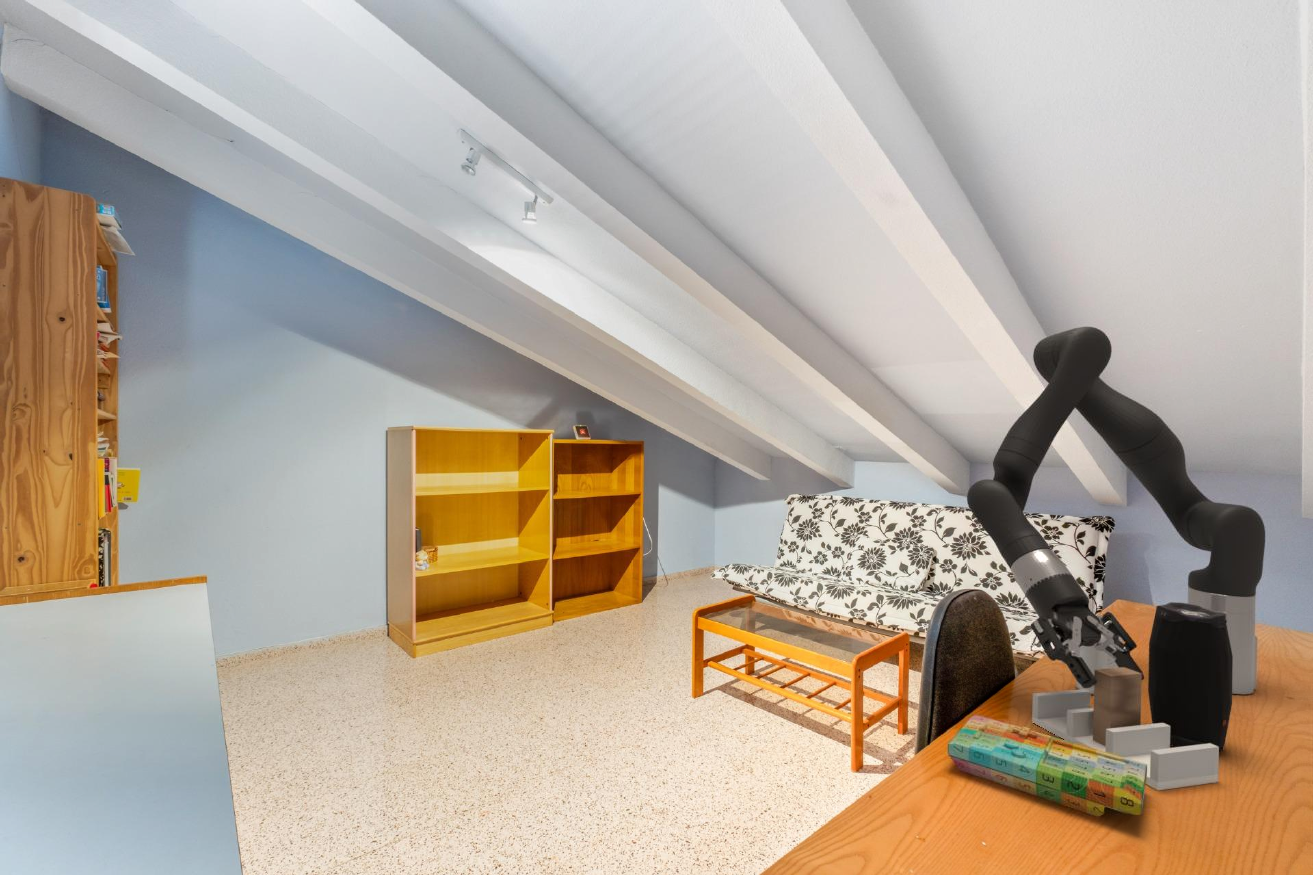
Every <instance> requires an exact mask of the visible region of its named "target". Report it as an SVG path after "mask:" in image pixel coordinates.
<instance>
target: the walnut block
mask: <svg viewBox="0 0 1313 875" xmlns="http://www.w3.org/2000/svg"><path fill="white" fill-rule="evenodd" d="M1094 677H1095V678H1096V680H1097V683H1096V684H1095V685H1094V695H1093V708H1094V711H1093V740H1094V741H1096V742H1098V743H1100V744H1102V745H1104V746H1106V729H1110V728H1119V727H1128V726H1138V725H1142V723H1141V720H1142V716H1141V715H1142V713H1141V711H1142V681H1143V680H1142V673H1139V672H1136V671H1133V670H1131V669H1128V668H1125V667H1120V668H1109V669H1098V670H1094Z"/></svg>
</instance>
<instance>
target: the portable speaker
mask: <svg viewBox="0 0 1313 875" xmlns="http://www.w3.org/2000/svg"><path fill="white" fill-rule="evenodd" d="M1226 623H1227V620H1226V614H1225V613H1221V612H1219V613H1216V612H1213V611H1210V610H1207V609H1204V608H1202V607H1200V606H1198V605H1192V604H1188V603H1187V602H1186V603H1185V602H1174V601H1173V602H1168V603H1166V604H1161V605H1157V606H1156V608H1155V613H1154V618H1153V623H1152V628H1151V632H1150V636H1149V642H1148V673H1147V675H1148V680H1147V681H1148V683H1147V692H1148V693H1147V694H1148V699H1149V700H1148V701H1149V709H1150V716H1151V724H1156V723H1165V724H1167V725H1169V726H1170V746H1172V748H1174V747H1183V746H1192V745H1200V744H1208V743H1211V744H1213V745H1216V746H1218V747H1219V751H1223V750H1224V748H1225V744H1226V738H1227V733H1228V728H1229V722H1230V718H1231V711H1232V705H1233V693H1232V669H1233V655H1232V650H1231V645H1230V640H1229V635H1228V630H1227V625H1226Z"/></svg>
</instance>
